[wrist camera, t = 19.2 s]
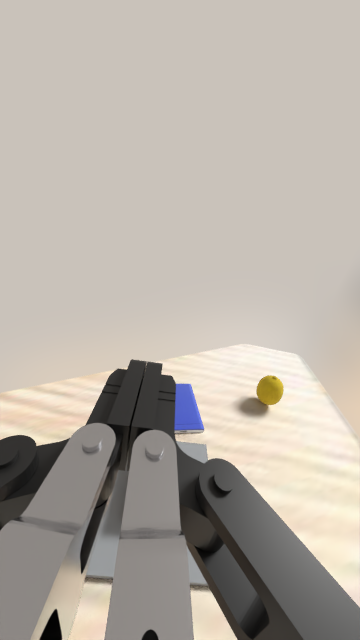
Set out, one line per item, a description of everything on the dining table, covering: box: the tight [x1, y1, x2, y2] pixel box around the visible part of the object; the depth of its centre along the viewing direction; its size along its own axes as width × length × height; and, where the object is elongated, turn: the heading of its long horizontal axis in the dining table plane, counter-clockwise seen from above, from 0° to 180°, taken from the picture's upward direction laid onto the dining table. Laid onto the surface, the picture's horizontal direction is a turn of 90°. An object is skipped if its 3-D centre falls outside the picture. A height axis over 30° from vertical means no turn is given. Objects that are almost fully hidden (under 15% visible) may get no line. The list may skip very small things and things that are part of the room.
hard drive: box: [175, 384, 204, 433], centre depth 45 cm, size 2×8×12 cm
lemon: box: [257, 376, 283, 405], centre depth 49 cm, size 6×6×8 cm
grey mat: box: [85, 441, 208, 586], centre depth 29 cm, size 18×16×1 cm
